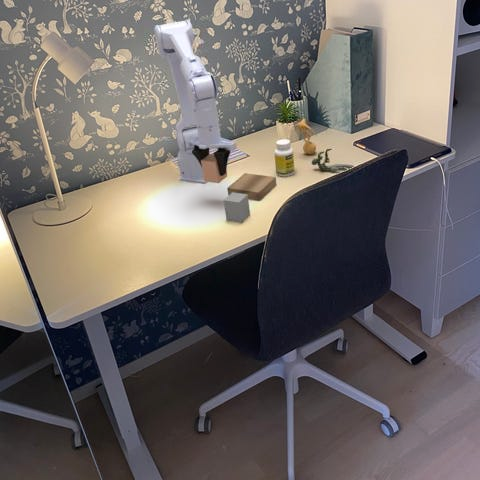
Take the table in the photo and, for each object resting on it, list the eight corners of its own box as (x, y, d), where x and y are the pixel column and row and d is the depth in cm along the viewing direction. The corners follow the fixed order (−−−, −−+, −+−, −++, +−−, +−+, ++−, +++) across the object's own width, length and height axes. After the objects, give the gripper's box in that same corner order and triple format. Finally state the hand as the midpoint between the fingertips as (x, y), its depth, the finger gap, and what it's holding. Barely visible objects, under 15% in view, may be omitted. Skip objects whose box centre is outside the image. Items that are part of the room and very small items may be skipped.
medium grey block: (226, 220, 140) (223, 200, 136) (235, 212, 143) (232, 192, 140) (241, 223, 137) (238, 202, 134) (250, 215, 141) (247, 194, 138)
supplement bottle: (288, 178, 157) (285, 146, 152) (272, 175, 160) (269, 143, 155) (298, 171, 160) (296, 139, 155) (282, 168, 163) (280, 137, 158)
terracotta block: (204, 181, 145) (200, 160, 142) (213, 174, 148) (210, 153, 145) (218, 183, 143) (215, 162, 140) (227, 176, 146) (224, 155, 143)
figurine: (324, 154, 169) (322, 116, 162) (312, 161, 165) (310, 123, 159) (303, 149, 174) (301, 112, 168) (291, 155, 171) (288, 118, 164)
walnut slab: (228, 197, 152) (227, 187, 150) (246, 182, 159) (244, 173, 157) (260, 202, 147) (258, 192, 145) (276, 186, 154) (275, 177, 153)
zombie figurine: (359, 155, 148) (308, 152, 155) (360, 178, 152) (310, 174, 159) (365, 147, 152) (314, 144, 159) (365, 169, 156) (316, 166, 163)
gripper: (175, 127, 138) (184, 176, 145) (223, 132, 131) (230, 182, 138) (191, 118, 143) (199, 165, 150) (238, 122, 136) (244, 171, 143)
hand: (215, 173), depth 145 cm, fingers closed on terracotta block, 4 cm apart
